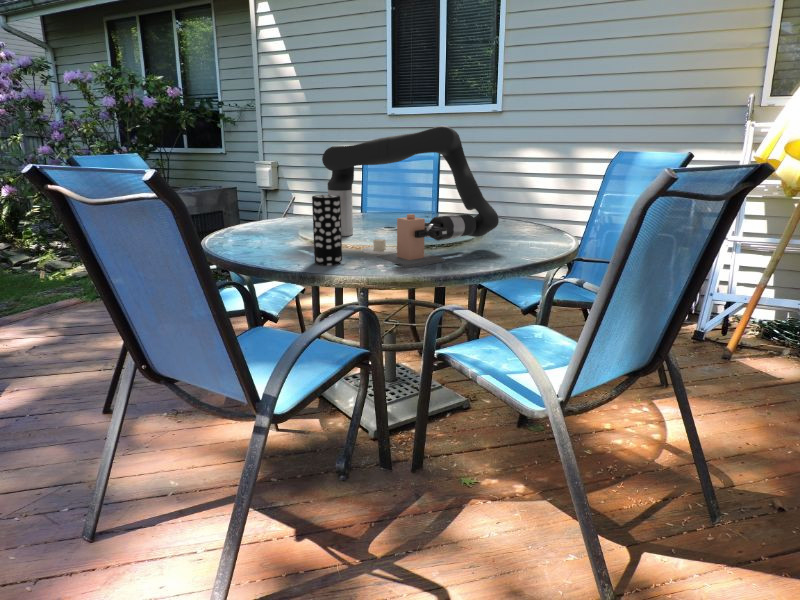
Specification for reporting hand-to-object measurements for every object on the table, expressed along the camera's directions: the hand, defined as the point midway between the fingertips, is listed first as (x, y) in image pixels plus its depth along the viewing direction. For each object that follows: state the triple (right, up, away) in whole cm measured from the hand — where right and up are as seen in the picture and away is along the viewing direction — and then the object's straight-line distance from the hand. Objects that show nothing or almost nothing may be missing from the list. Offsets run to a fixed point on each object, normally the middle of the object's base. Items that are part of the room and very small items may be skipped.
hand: (406, 232), depth 171 cm
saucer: (-9, -5, +15) cm, 18 cm away
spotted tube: (-24, -9, 0) cm, 26 cm away
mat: (+1, -8, +3) cm, 9 cm away
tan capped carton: (+1, -7, +3) cm, 8 cm away
